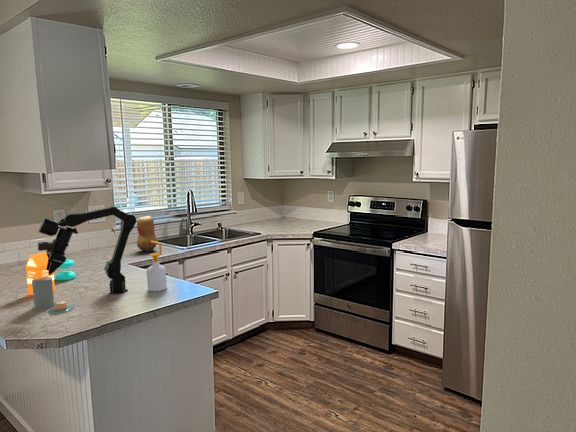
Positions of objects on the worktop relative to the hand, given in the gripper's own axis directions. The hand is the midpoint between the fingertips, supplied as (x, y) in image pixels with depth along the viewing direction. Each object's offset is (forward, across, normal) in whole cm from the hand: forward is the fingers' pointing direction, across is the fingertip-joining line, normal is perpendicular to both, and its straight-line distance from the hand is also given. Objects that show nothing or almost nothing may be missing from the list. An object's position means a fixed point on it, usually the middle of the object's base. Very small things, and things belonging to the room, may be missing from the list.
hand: (48, 272), depth 194 cm
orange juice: (+14, -22, +5) cm, 27 cm away
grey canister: (+14, +2, +4) cm, 15 cm away
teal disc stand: (+12, +12, +9) cm, 19 cm away
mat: (+15, +2, +4) cm, 15 cm away
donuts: (+9, -45, +16) cm, 48 cm away
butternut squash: (-17, -87, +67) cm, 111 cm away
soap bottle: (-7, +7, +48) cm, 49 cm away
